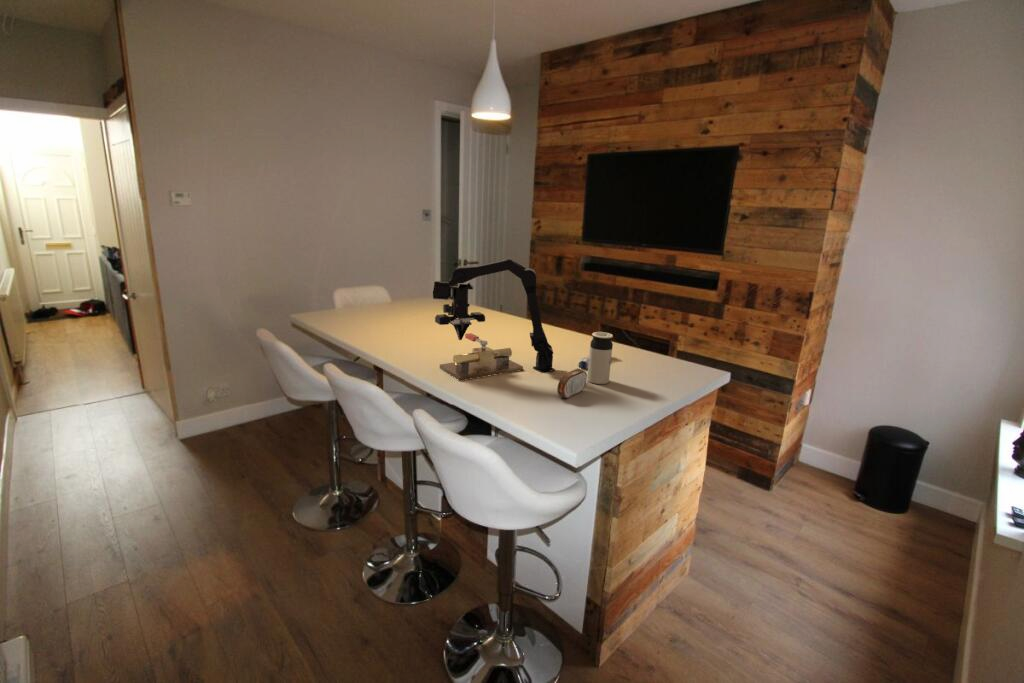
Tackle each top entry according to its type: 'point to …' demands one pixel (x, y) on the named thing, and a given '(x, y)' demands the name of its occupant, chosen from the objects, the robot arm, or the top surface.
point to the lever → (475, 338)
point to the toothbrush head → (584, 363)
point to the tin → (572, 383)
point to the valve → (481, 363)
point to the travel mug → (600, 358)
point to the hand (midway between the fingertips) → (460, 339)
